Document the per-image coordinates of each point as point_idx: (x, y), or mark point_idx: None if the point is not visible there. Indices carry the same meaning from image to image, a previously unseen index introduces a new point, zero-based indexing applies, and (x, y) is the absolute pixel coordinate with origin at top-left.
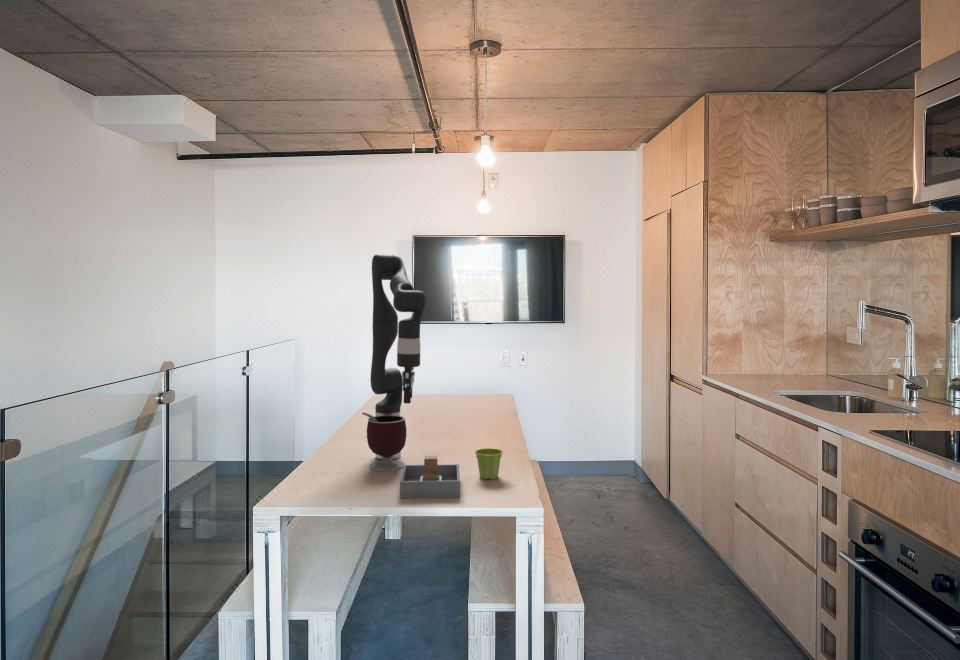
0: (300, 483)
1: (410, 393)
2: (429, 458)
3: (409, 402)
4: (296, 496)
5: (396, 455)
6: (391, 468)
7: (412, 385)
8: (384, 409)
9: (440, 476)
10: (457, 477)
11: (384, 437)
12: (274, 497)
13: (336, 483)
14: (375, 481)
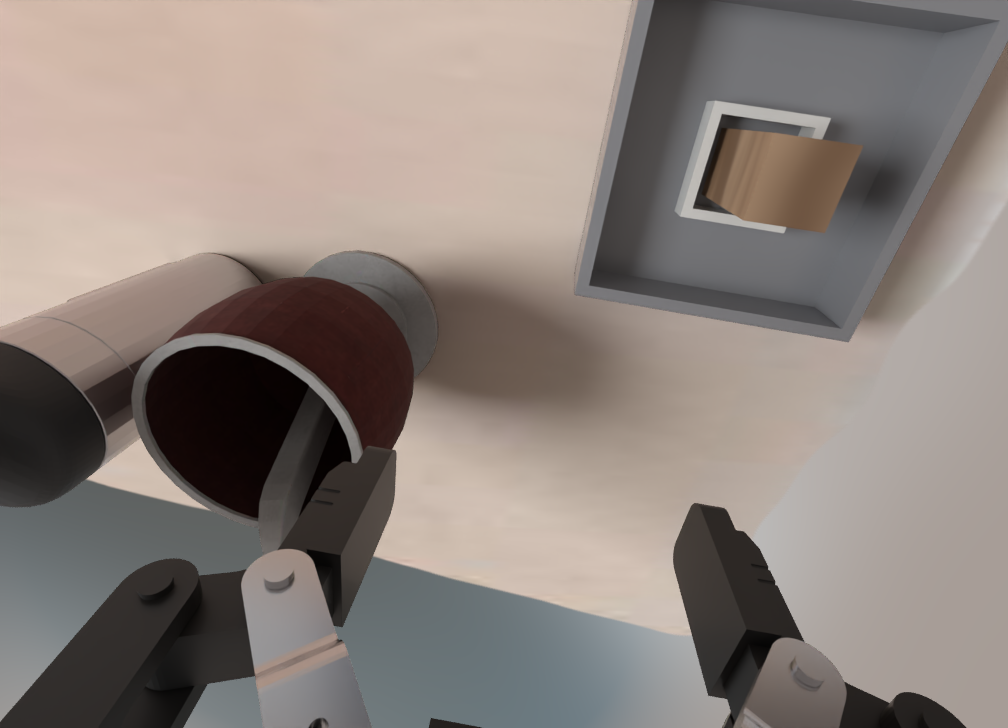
0: (530, 570)
1: (769, 616)
2: (829, 198)
3: (722, 518)
4: (652, 582)
5: (246, 279)
6: (421, 312)
7: (752, 720)
8: (81, 458)
9: (727, 108)
10: (939, 9)
11: (401, 416)
12: (641, 621)
13: (554, 491)
14: (563, 379)
